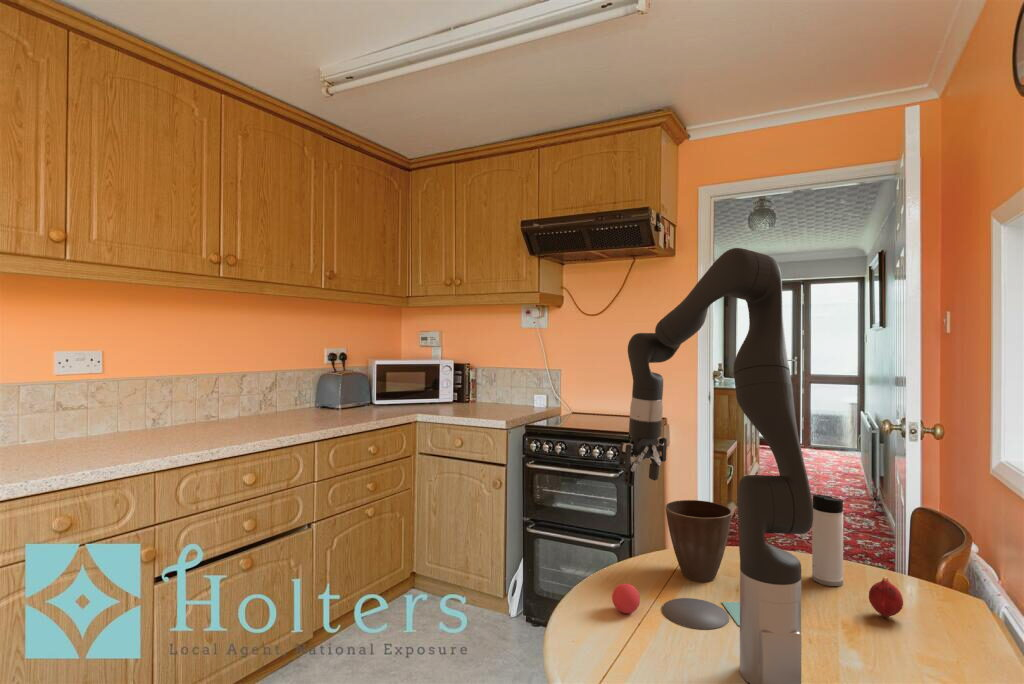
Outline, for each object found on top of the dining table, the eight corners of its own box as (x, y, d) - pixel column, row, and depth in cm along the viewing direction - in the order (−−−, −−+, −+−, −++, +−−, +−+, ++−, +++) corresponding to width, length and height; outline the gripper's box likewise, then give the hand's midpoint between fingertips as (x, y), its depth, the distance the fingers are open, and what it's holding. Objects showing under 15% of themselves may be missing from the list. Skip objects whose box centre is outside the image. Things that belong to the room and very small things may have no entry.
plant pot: (663, 584, 130) (663, 514, 130) (667, 560, 144) (667, 497, 144) (733, 593, 125) (733, 520, 125) (730, 567, 139) (730, 502, 139)
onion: (908, 625, 111) (908, 584, 111) (876, 622, 112) (876, 582, 112) (895, 611, 117) (895, 573, 117) (864, 609, 118) (864, 570, 118)
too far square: (790, 627, 110) (790, 626, 110) (738, 626, 111) (738, 625, 111) (769, 603, 120) (769, 602, 120) (721, 602, 121) (721, 601, 121)
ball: (642, 618, 114) (642, 590, 114) (614, 618, 114) (614, 590, 114) (637, 605, 119) (637, 579, 119) (610, 605, 119) (610, 578, 119)
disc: (738, 630, 109) (738, 629, 109) (670, 628, 110) (670, 627, 110) (717, 599, 122) (717, 598, 122) (656, 598, 123) (656, 597, 123)
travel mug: (805, 578, 133) (805, 493, 133) (824, 574, 136) (824, 490, 136) (829, 589, 128) (830, 500, 127) (849, 584, 130) (849, 496, 130)
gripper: (637, 423, 128) (632, 492, 130) (677, 416, 137) (673, 482, 138) (613, 416, 134) (609, 482, 136) (653, 410, 143) (649, 473, 144)
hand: (641, 482), depth 137 cm, fingers open, 8 cm apart
